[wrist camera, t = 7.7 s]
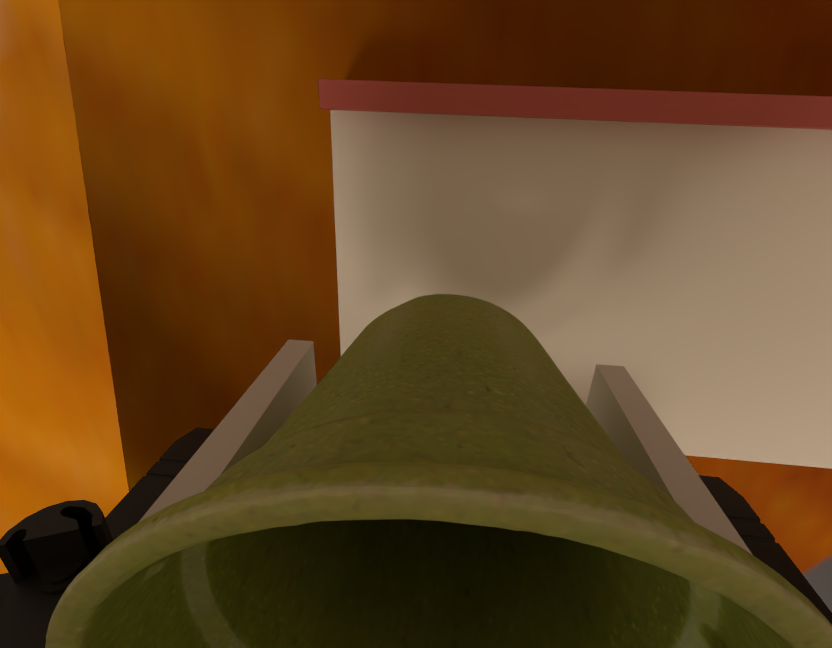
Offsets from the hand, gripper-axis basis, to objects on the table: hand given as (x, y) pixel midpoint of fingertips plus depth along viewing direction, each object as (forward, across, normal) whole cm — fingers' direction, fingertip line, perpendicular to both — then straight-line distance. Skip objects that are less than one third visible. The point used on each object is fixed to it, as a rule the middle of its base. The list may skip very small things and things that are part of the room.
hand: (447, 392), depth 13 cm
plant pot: (0, 0, 0) cm, 0 cm away
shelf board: (+6, +7, +1) cm, 9 cm away
